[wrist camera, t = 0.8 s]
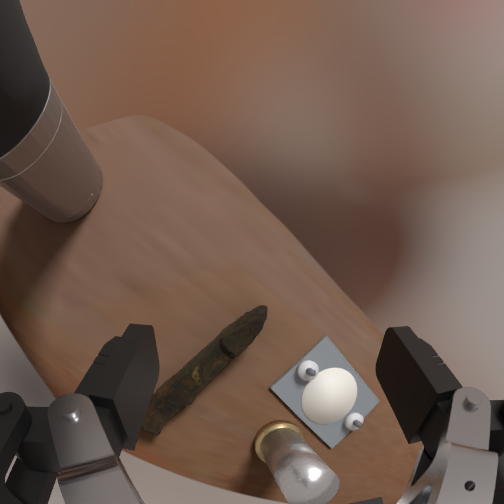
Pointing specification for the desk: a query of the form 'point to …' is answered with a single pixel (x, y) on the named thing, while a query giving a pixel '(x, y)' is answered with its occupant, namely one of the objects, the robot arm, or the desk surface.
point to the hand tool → (202, 369)
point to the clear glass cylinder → (295, 464)
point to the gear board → (326, 393)
